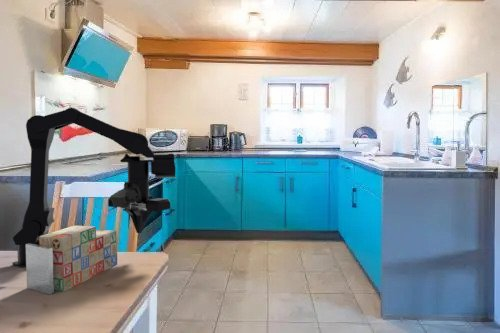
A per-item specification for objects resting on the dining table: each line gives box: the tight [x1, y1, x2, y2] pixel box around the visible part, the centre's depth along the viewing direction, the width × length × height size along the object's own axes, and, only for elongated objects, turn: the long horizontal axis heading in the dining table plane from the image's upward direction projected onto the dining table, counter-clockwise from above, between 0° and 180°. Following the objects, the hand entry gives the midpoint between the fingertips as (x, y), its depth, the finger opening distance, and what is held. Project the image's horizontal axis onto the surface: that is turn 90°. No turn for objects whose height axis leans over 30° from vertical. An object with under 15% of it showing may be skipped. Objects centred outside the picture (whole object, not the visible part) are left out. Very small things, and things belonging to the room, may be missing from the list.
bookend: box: [25, 243, 55, 295], centre depth 94 cm, size 8×1×10 cm, turn 61°
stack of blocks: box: [39, 225, 118, 292], centre depth 105 cm, size 21×6×12 cm, turn 165°
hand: (139, 233), depth 121 cm, fingers closed
